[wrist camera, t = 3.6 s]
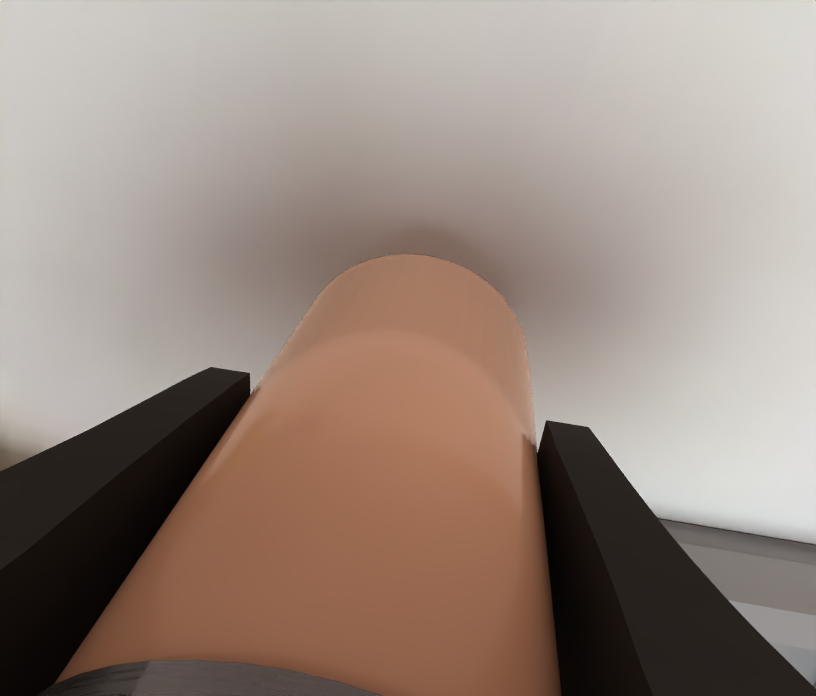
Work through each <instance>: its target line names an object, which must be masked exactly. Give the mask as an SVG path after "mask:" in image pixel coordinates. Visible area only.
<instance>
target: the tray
mask: <svg viewBox="0 0 816 696" xmlns="http://www.w3.org/2000/svg"><path fill="white" fill-rule="evenodd" d="M659 521H660V522H661V523H662V524H663V526H664V527H665V528H666V529H667V531H668V532H669V533H670V534H671V535H672V537H673V538H674V539H675V540H676V541H677V543H678V544H679V545H680V546H681V547H682V549H683V550H684V551H685V552H686V553H687V554H688V556H689V557H690V558H691V559H692V560H693V562H694V563H695V564H696V565H697V566H698V567H699V568H700V569H701V570H702V572H703V573H704V574H705V575H706V576H707V577H708V578H709V579H710V581H711V582H712V583H713V584H714V585H715V586H716V587H717V588H718V589H719V591H720V592H721V593H722V594H723V595H724V596H725V597H726V598H727V600H728V601H729V602H730V603H731V604H732V605H733V606H734V607H735V608H736V609H737V610H738V611H739V612H740V613H741V615H742V616H743V617H744V618H745V619H746V620H747V621H748V622H749V623H750V624H751V625H752V626H753V627H754V628H755V629H756V630H757V631H758V632H759V633H760V634H761V635H762V636H763V637H764V638H765V639H766V640H767V641H768V642H769V643H770V644H771V645H772V646H773V647H774V648H775V649H776V650H777V651H778V652H779V653H780V654H781V655H782V656H783V657H784V658H785V659H786V660H787V661H788V662H789V663H790V664H791V665H792V666H793V667H794V668H795V669H796V670H797V671H798V672H799V673H800V674H801V675H802V676H803V677H804V678H805V679H806V680H807V681H809V682H810V683H811V684H812V685H813V686H814V687H815V688H816V545H810V544H804V543H798V542H792V541H786V540H780V539H774V538H769V537H763V536H757V535H751V534H745V533H739V532H733V531H727V530H721V529H715V528H709V527H703V526H698V525H692V524H686V523H680V522H674V521H668V520H662V519H659Z"/></svg>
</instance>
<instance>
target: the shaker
mask: <svg viewBox="0 0 816 696" xmlns="http://www.w3.org/2000/svg"><path fill="white" fill-rule="evenodd" d="M37 696H562V695H561V685H560V675H559V665H558V655H557V644H556V634H555V624H554V614H553V604H552V594H551V584H550V574H549V564H548V554H547V544H546V534H545V524H544V514H543V503H542V493H541V483H540V473H539V463H538V453H537V443H536V433H535V423H534V413H533V403H532V393H531V383H530V372H529V362H528V353H527V346H526V340H525V337H524V334H523V331H522V327H521V325H520V323H519V321H518V319H517V317H516V315H515V313H514V312H513V310H512V309H511V307H510V306H509V304H508V303H507V301H506V300H505V299H504V298H503V297H502V296H501V294H500V293H499V292H498V291H497V290H496V289H495V288H494V287H492V286H491V285H490V284H489V283H488V282H487V281H485V280H484V279H483V278H481V277H480V276H478V275H477V274H475V273H474V272H472V271H470V270H468V269H466V268H464V267H462V266H460V265H458V264H456V263H453V262H450V261H447V260H444V259H441V258H436V257H431V256H426V255H416V254H397V255H388V256H383V257H377V258H374V259H371V260H368V261H364V262H362V263H360V264H357V265H355V266H353V267H351V268H349V269H347V270H346V271H344V272H343V273H341V274H340V275H338V276H337V277H336V278H335V279H333V280H332V281H331V282H330V283H329V284H328V285H327V286H326V287H325V288H324V289H323V290H322V292H321V293H320V294H319V295H318V296H317V298H316V299H315V301H314V302H313V304H312V305H311V307H310V308H309V310H308V311H307V312H306V314H305V315H304V317H303V318H302V320H301V321H300V323H299V324H298V326H297V327H296V329H295V330H294V332H293V333H292V335H291V336H290V338H289V339H288V340H287V342H286V343H285V345H284V346H283V348H282V349H281V351H280V352H279V354H278V355H277V357H276V358H275V360H274V361H273V363H272V364H271V365H270V367H269V368H268V370H267V371H266V373H265V374H264V376H263V377H262V379H261V380H260V382H259V383H258V385H257V386H256V388H255V389H254V390H253V392H252V393H251V395H250V396H249V398H248V399H247V401H246V402H245V404H244V405H243V407H242V408H241V410H240V411H239V413H238V414H237V416H236V417H235V418H234V420H233V421H232V423H231V424H230V426H229V427H228V429H227V430H226V432H225V433H224V435H223V436H222V438H221V439H220V441H219V442H218V443H217V445H216V446H215V448H214V449H213V451H212V452H211V454H210V455H209V457H208V458H207V460H206V461H205V463H204V464H203V466H202V467H201V469H200V470H199V471H198V473H197V474H196V476H195V477H194V479H193V480H192V482H191V483H190V485H189V486H188V488H187V489H186V491H185V492H184V494H183V495H182V496H181V498H180V499H179V501H178V502H177V504H176V505H175V507H174V508H173V510H172V511H171V513H170V514H169V516H168V517H167V519H166V520H165V521H164V523H163V524H162V526H161V527H160V529H159V530H158V532H157V533H156V535H155V536H154V538H153V539H152V541H151V542H150V544H149V545H148V547H147V548H146V549H145V551H144V552H143V554H142V555H141V557H140V558H139V560H138V561H137V563H136V564H135V566H134V567H133V569H132V570H131V572H130V573H129V574H128V576H127V577H126V579H125V580H124V582H123V583H122V585H121V586H120V588H119V589H118V591H117V592H116V594H115V595H114V597H113V598H112V600H111V601H110V602H109V604H108V605H107V607H106V608H105V610H104V611H103V613H102V614H101V616H100V617H99V619H98V620H97V622H96V623H95V625H94V626H93V627H92V629H91V630H90V632H89V633H88V635H87V636H86V638H85V639H84V641H83V642H82V644H81V645H80V647H79V648H78V650H77V651H76V652H75V654H74V655H73V657H72V658H71V660H70V661H69V663H68V664H67V666H66V667H65V669H64V670H63V672H62V673H61V675H60V676H59V678H58V679H57V680H56V682H55V683H54V685H52V686H50V687H49V688H47V689H46V690H44V691H43V692H41V693H40V694H38V695H37Z"/></svg>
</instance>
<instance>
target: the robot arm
mask: <svg viewBox="0 0 816 696" xmlns="http://www.w3.org/2000/svg"><path fill="white" fill-rule="evenodd" d="M249 396H250V373H245V372H239V371H232V370H226V369H220V368H213V367H210V368H208V369H206V370H203V371H201V372H199V373H197V374H195V375H193V376H191V377H189V378H187V379H185V380H183V381H181V382H179V383H177V384H175V385H173V386H171V387H169V388H168V389H166V390H164V391H162V392H160V393H158V394H156V395H154V396H152V397H151V398H149V399H147V400H145V401H143V402H141V403H139V404H137V405H135V406H133V407H132V408H130V409H128V410H126V411H124V412H122V413H120V414H118V415H116V416H114V417H112V418H110V419H109V420H107V421H105V422H103V423H101V424H99V425H97V426H95V427H93V428H91V429H89V430H87V431H85V432H83V433H81V434H79V435H77V436H75V437H73V438H70V439H68V440H66V441H64V442H62V443H60V444H58V445H56V446H54V447H52V448H49V449H47V450H45V451H43V452H41V453H39V454H37V455H35V456H33V457H30V458H28V459H26V460H24V461H22V462H20V463H18V464H16V465H14V466H11V467H9V468H7V469H5V470H3V471H0V696H37V695H38V694H40V693H41V692H43V691H44V690H46V689H47V688H49V687H50V686H52V685H54V683H55V682H56V680H57V679H58V678H59V676H60V675H61V673H62V672H63V670H64V669H65V667H66V666H67V664H68V663H69V661H70V660H71V658H72V657H73V655H74V654H75V652H76V651H77V650H78V648H79V647H80V645H81V644H82V642H83V641H84V639H85V638H86V636H87V635H88V633H89V632H90V630H91V629H92V627H93V626H94V625H95V623H96V622H97V620H98V619H99V617H100V616H101V614H102V613H103V611H104V610H105V608H106V607H107V605H108V604H109V602H110V601H111V600H112V598H113V597H114V595H115V594H116V592H117V591H118V589H119V588H120V586H121V585H122V583H123V582H124V580H125V579H126V577H127V576H128V574H129V573H130V572H131V570H132V569H133V567H134V566H135V564H136V563H137V561H138V560H139V558H140V557H141V555H142V554H143V552H144V551H145V549H146V548H147V547H148V545H149V544H150V542H151V541H152V539H153V538H154V536H155V535H156V533H157V532H158V530H159V529H160V527H161V526H162V524H163V523H164V521H165V520H166V519H167V517H168V516H169V514H170V513H171V511H172V510H173V508H174V507H175V505H176V504H177V502H178V501H179V499H180V498H181V496H182V495H183V494H184V492H185V491H186V489H187V488H188V486H189V485H190V483H191V482H192V480H193V479H194V477H195V476H196V474H197V473H198V471H199V470H200V469H201V467H202V466H203V464H204V463H205V461H206V460H207V458H208V457H209V455H210V454H211V452H212V451H213V449H214V448H215V446H216V445H217V443H218V442H219V441H220V439H221V438H222V436H223V435H224V433H225V432H226V430H227V429H228V427H229V426H230V424H231V423H232V421H233V420H234V418H235V417H236V416H237V414H238V413H239V411H240V410H241V408H242V407H243V405H244V404H245V402H246V401H247V399H248V398H249ZM538 463H539V473H540V483H541V493H542V503H543V514H544V524H545V534H546V544H547V554H548V564H549V574H550V584H551V594H552V604H553V614H554V624H555V634H556V644H557V655H558V665H559V675H560V685H561V695H562V696H816V688H815V687H814V686H813V685H812V684H811V683H810V682H809V681H807V680H806V679H805V678H804V677H803V676H802V675H801V674H800V673H799V672H798V671H797V670H796V669H795V668H794V667H793V666H792V665H791V664H790V663H789V662H788V661H787V660H786V659H785V658H784V657H783V656H782V655H781V654H780V653H779V652H778V651H777V650H776V649H775V648H774V647H773V646H772V645H771V644H770V643H769V642H768V641H767V640H766V639H765V638H764V637H763V636H762V635H761V634H760V633H759V632H758V631H757V630H756V629H755V628H754V627H753V626H752V625H751V624H750V623H749V622H748V621H747V620H746V619H745V618H744V617H743V616H742V615H741V613H740V612H739V611H738V610H737V609H736V608H735V607H734V606H733V605H732V604H731V603H730V602H729V601H728V600H727V598H726V597H725V596H724V595H723V594H722V593H721V592H720V591H719V589H718V588H717V587H716V586H715V585H714V584H713V583H712V582H711V581H710V579H709V578H708V577H707V576H706V575H705V574H704V573H703V572H702V570H701V569H700V568H699V567H698V566H697V565H696V564H695V563H694V562H693V560H692V559H691V558H690V557H689V556H688V554H687V553H686V552H685V551H684V550H683V549H682V547H681V546H680V545H679V544H678V543H677V541H676V540H675V539H674V538H673V537H672V535H671V534H670V533H669V532H668V531H667V529H666V528H665V527H664V526H663V524H662V523H661V522H660V521H659V519H658V518H657V517H656V516H655V514H654V513H653V512H652V511H651V509H650V508H649V507H648V506H647V504H646V503H645V502H644V500H643V499H642V498H641V497H640V495H639V494H638V493H637V491H636V490H635V489H634V487H633V486H632V485H631V483H630V482H629V481H628V479H627V478H626V477H625V475H624V474H623V473H622V471H621V470H620V469H619V467H618V466H617V465H616V463H615V462H614V461H613V459H612V458H611V457H610V455H609V454H608V453H607V451H606V450H605V448H604V447H603V446H602V444H601V443H600V442H599V440H598V439H597V438H596V436H595V435H594V434H593V432H592V431H591V430H590V429H589V427H584V426H578V425H572V424H566V423H559V422H553V421H547V420H546V423H545V427H544V431H543V435H542V439H541V442H540V446H539V450H538Z"/></svg>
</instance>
